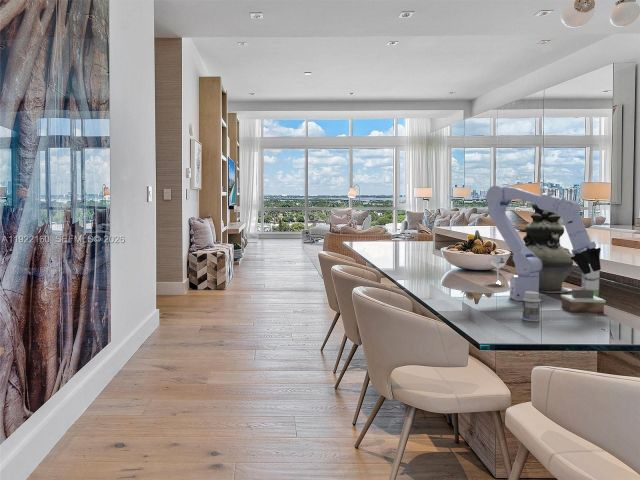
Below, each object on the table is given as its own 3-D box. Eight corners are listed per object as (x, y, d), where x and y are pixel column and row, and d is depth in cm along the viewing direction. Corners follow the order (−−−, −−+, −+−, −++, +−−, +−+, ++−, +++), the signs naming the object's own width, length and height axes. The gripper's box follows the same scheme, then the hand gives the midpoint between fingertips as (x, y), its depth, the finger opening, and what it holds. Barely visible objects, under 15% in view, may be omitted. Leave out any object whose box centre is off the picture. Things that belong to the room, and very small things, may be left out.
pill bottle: (525, 317, 153) (526, 290, 153) (541, 319, 151) (542, 292, 150) (520, 320, 150) (521, 292, 149) (536, 322, 147) (537, 294, 146)
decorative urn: (528, 285, 221) (529, 205, 219) (579, 290, 206) (581, 204, 204) (507, 289, 205) (508, 204, 204) (561, 295, 191) (563, 203, 189)
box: (571, 312, 162) (571, 301, 162) (561, 307, 170) (561, 297, 169) (603, 312, 161) (604, 302, 161) (592, 307, 169) (592, 297, 169)
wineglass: (486, 281, 225) (487, 255, 224) (499, 281, 227) (500, 255, 226) (496, 284, 219) (497, 256, 218) (509, 283, 221) (510, 256, 220)
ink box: (599, 297, 190) (600, 266, 189) (584, 296, 192) (585, 265, 191) (594, 293, 198) (595, 263, 197) (580, 292, 200) (581, 263, 199)
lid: (571, 301, 161) (571, 291, 161) (560, 297, 170) (561, 287, 170) (605, 302, 160) (606, 292, 160) (593, 297, 169) (593, 288, 169)
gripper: (598, 226, 162) (614, 265, 160) (580, 234, 177) (594, 271, 174) (577, 231, 163) (592, 271, 160) (560, 240, 177) (574, 277, 174)
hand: (592, 272), depth 167 cm, fingers open, 7 cm apart
